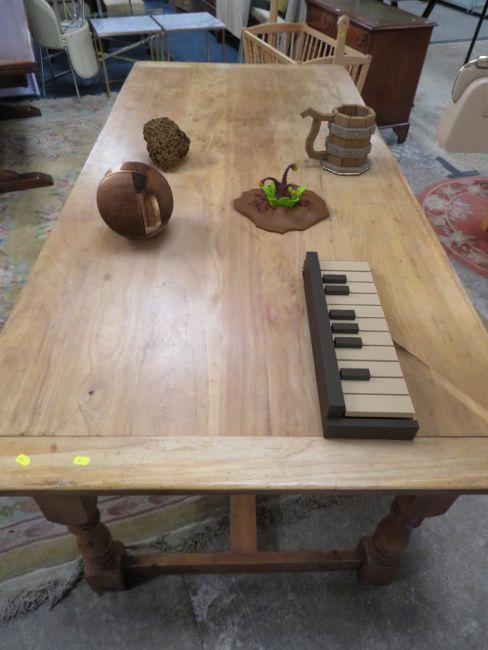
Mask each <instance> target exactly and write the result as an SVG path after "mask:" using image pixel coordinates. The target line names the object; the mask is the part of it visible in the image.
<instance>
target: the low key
mask: <svg viewBox="0 0 488 650" xmlns="http://www.w3.org/2000/svg"><path fill="white" fill-rule="evenodd" d="M359 261H360V260H324V261H319V264H320V269H321V271H339V272H371V267H370V264H369V261H367V262H359Z"/></svg>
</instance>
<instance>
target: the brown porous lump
mask: <svg viewBox="0 0 488 650" xmlns="http://www.w3.org/2000/svg"><path fill="white" fill-rule="evenodd" d="M142 134H143V141H145V142H146V151H147V154H148V157H149V160H150V161H151V162H152V164H153V165H155V166H156V167H157V168H158V169H159V170H161V171H167V170H169V168H170V167H172V166H173V165H174V164H176V163H178V162H179V161H180V160H181V159H183V158H185V157H186V156H187V154H188V153H189V151H190V148H191V141H192V140H191V138H189V137H188V136H187V134H186V132H185V131H183V130H182V129H181V128H180V126H179V125H178V124H177V123H176V122H175V121H174V120H173V119H172V120H171V119H170V118H169V117H168V116H165V117H164V116H161V117H155V118H151V119H150V120H148V121H147V122H146V123H145V124H144V123H143V125H142ZM184 156H185V157H184ZM182 157H183V158H182Z"/></svg>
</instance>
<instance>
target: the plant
mask: <svg viewBox="0 0 488 650" xmlns="http://www.w3.org/2000/svg"><path fill="white" fill-rule="evenodd" d="M298 169H299V166H298V164H296V163H290V164H288V166H287V167H286V168H285V169H284V172H283V174H282V177H281V179H280V180H278V179H277V178H275V177H273V176H267V177H265V178H263V179H261V180H259V181H258V184H257V185H258V187H259V188H252V189H251V190H247V191H243V192H242V196H241V197H237V198H234V201H233V207H234V209H235V210H236V211H237V212H238V213H239V214H241V215H243V216H245V217H246V218H247V219H248V220H250V221H251V222H252V223H253V224H254V225H255V228H257V229H259V230H263V231H264V232H268V233H274V234H278V235H284V234H286V233H288V232H304V231H306V230H309V229H310V228H312V227H313V226H315V225H317V224H319V223H321V222H323V221H324V220H326V219H328V218H329V217H330V212H329V210H328V207H327V204H326V203H327V202H325V201H326V200H324V198H322V197H321V196H319V195H318V194H317V193H316V192H314V191H313V190H310V189H307V187H306V186H300V185H298V184H296V183H294V182H293V181H290V182H288V181H287V180H288V174H289V170H291V171H292V172H297V171H298ZM266 181H272V182H270V184H268V185H265V184H266V183H265V182H266Z"/></svg>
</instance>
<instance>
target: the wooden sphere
mask: <svg viewBox="0 0 488 650" xmlns="http://www.w3.org/2000/svg"><path fill="white" fill-rule="evenodd" d="M95 197H96V198H95V199H96V200H95V201H96V206H97V211H98V213H99V215H100V217H101V219H102V220H103V222H104V223H105V225H106V226H107V227H108V228H109V229H110V230H111V231H112V232H113V233H115V234H117V235H119V236H121V237H123V238H127V239H132V240H145V239H148V238H151V237H153V236H155V235H157V234H159V233H160V232H161V231H162V230H163V229H165V227H166V226H167V225H168V224H169V222H170V220H171V217H172V216H173V212H174V202H175V201H174V194H173V191H172V187H171V185H170V183H169V181H168V180H167V179H166V177H165V176H164V175H163V173H161V172H160V171H159V170H158V169H156V168H155V167H153V166H152V165H150V164H148V163H146V162H141V161H136V160H134V161H131V160H130V161H129V160H128V161H123V162H120V163H118V164H115V165H113V166H111V168H109V169H108V170H107V171H106V172H105V173H104V174H103V176H102V177H101V179H100V181H99V183H98V185H97V189H96V196H95Z"/></svg>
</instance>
